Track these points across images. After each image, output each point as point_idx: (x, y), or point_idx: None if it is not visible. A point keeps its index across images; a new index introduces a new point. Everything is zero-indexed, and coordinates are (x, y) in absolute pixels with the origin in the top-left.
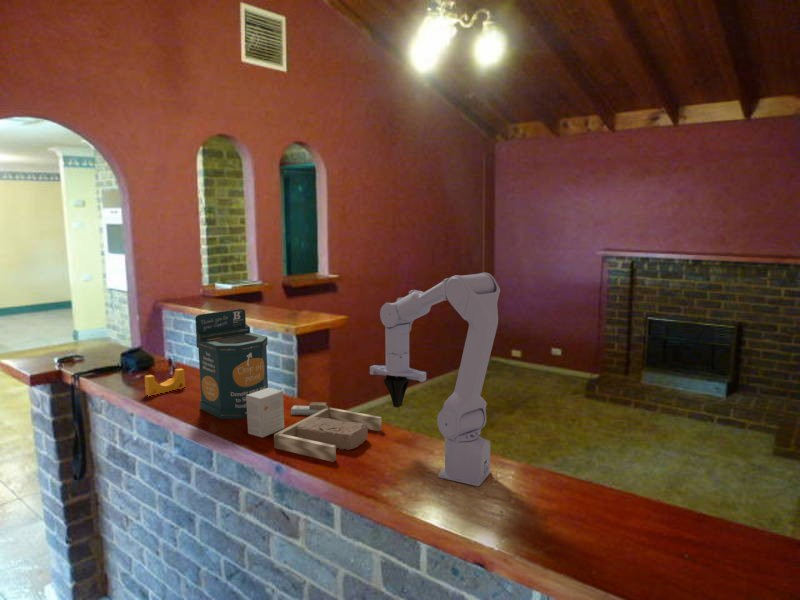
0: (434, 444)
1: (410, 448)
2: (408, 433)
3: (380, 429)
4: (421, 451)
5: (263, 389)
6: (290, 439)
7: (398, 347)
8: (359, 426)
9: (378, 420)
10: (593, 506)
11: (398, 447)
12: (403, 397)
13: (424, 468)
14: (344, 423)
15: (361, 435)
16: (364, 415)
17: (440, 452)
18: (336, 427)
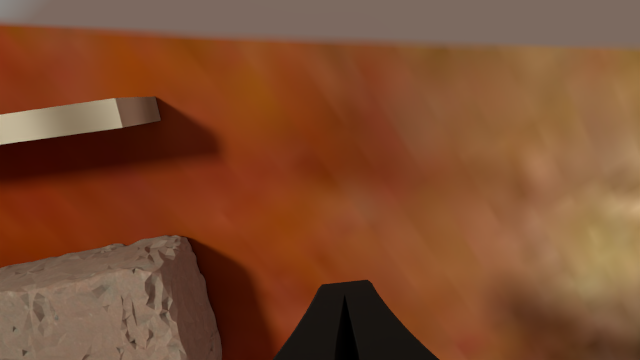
0: (490, 98)
1: (412, 204)
2: (298, 52)
3: (155, 108)
4: (473, 203)
5: None
6: None
7: None
8: (148, 315)
9: (125, 126)
10: None
11: (360, 225)
12: (390, 312)
13: (562, 328)
14: (45, 306)
15: (196, 315)
16: (17, 137)
17: (558, 164)
18: None
